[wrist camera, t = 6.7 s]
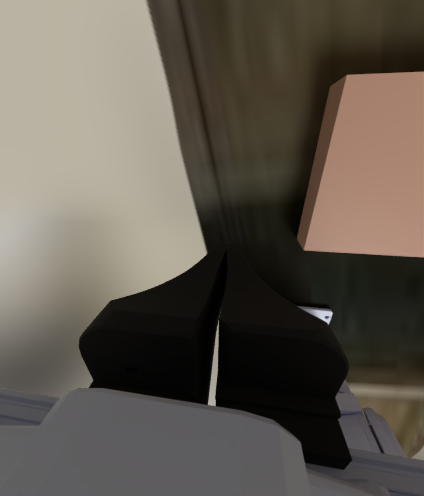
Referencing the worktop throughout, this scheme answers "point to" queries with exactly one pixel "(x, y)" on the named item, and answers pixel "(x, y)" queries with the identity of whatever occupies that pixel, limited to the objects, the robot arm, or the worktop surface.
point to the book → (369, 169)
